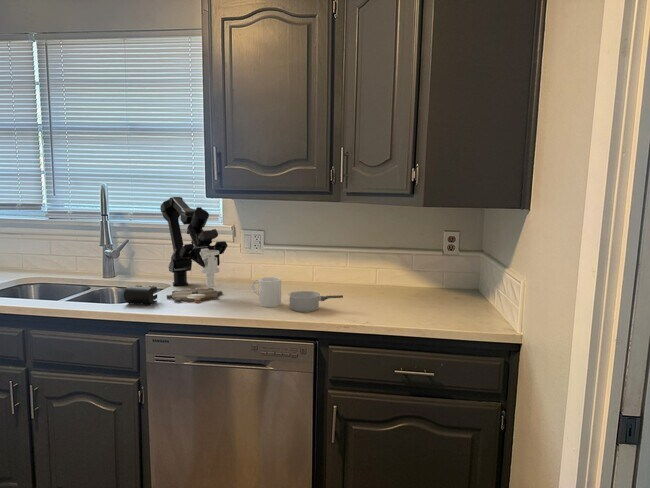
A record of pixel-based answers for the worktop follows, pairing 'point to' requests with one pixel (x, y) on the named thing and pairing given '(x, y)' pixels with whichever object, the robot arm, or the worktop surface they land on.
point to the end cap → (140, 295)
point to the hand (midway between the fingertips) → (211, 266)
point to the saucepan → (307, 300)
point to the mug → (269, 291)
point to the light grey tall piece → (209, 265)
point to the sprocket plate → (194, 295)
